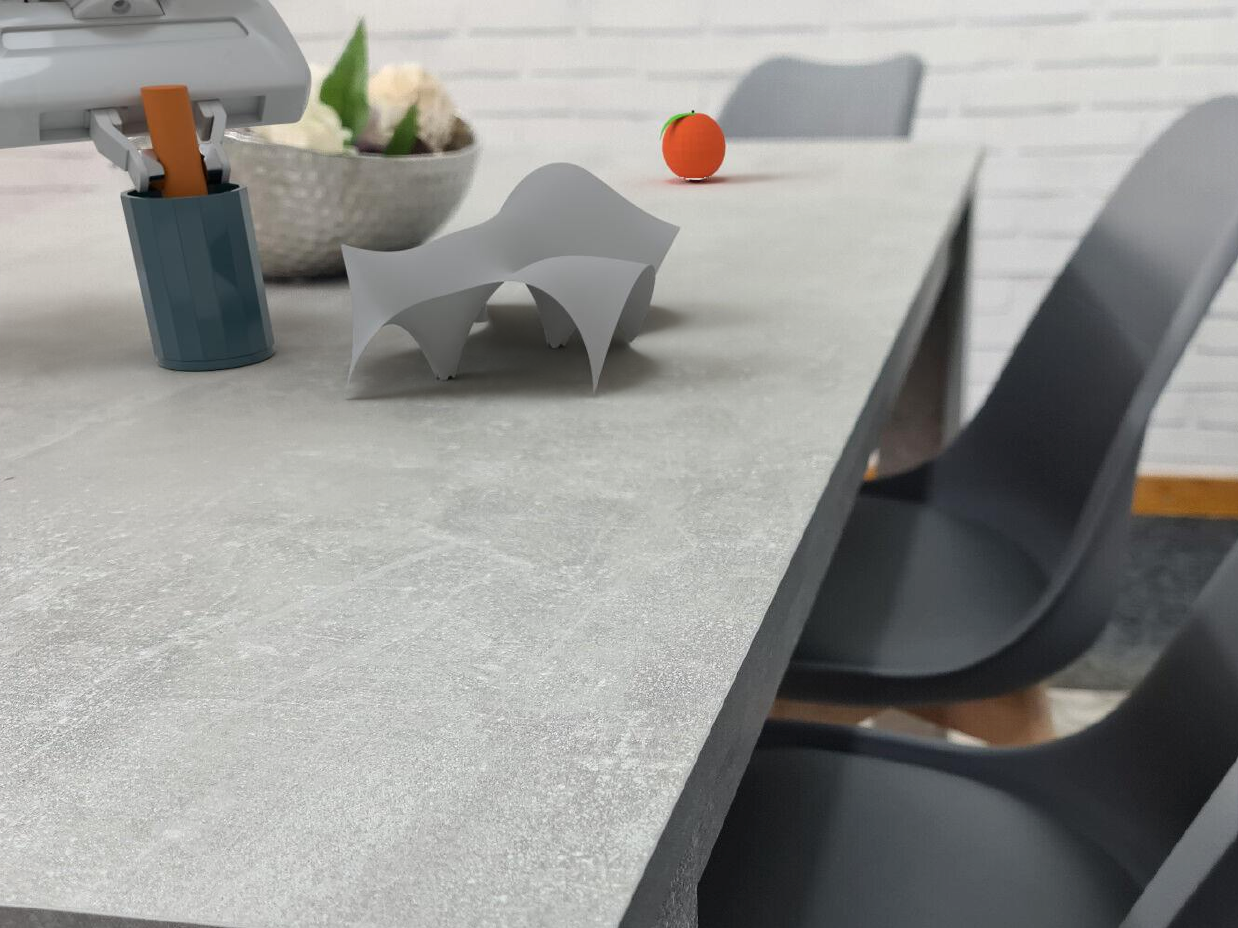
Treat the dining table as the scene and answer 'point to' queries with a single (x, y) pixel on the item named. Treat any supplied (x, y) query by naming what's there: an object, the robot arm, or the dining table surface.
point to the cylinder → (174, 139)
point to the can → (200, 277)
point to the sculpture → (519, 270)
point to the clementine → (693, 145)
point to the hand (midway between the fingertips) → (186, 181)
